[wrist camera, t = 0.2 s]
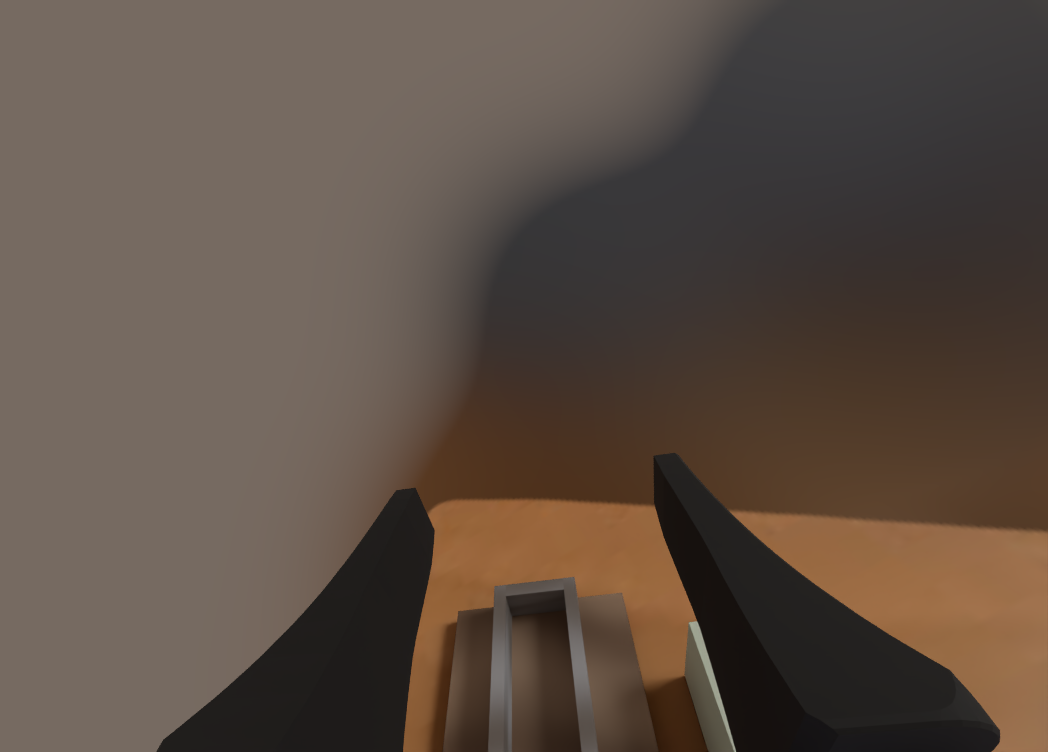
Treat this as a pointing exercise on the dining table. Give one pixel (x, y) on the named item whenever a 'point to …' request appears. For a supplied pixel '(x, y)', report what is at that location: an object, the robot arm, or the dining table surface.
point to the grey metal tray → (547, 675)
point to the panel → (706, 694)
